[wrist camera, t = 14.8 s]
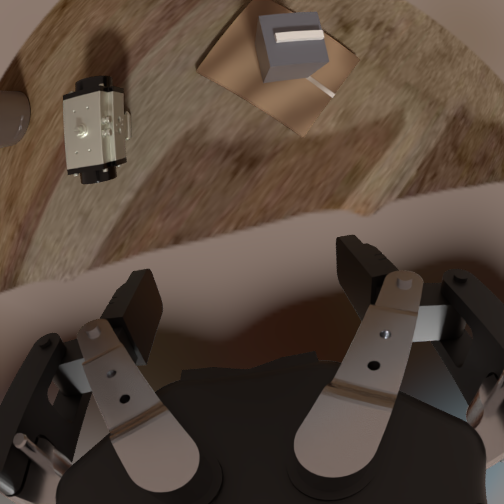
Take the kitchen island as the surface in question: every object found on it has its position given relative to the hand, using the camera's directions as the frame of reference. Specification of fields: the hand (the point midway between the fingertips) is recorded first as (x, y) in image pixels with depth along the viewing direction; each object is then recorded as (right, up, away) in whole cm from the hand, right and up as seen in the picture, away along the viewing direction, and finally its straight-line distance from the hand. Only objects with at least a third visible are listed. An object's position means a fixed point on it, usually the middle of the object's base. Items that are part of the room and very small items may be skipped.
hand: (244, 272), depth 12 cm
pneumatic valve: (-17, +18, +22) cm, 33 cm away
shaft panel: (+4, +25, +19) cm, 32 cm away
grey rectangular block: (+4, +24, +18) cm, 31 cm away
